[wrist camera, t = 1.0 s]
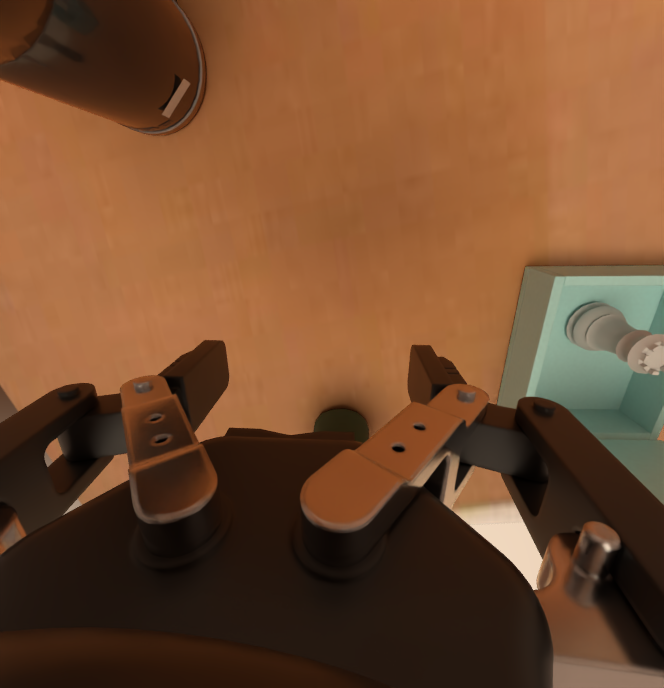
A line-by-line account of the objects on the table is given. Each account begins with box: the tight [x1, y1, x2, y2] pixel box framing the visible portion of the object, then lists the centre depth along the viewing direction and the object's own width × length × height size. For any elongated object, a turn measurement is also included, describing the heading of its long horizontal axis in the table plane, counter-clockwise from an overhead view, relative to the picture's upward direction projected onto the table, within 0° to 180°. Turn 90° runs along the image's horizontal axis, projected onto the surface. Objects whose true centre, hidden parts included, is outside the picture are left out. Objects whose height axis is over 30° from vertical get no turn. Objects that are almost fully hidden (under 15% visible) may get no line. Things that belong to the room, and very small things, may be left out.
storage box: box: [497, 265, 664, 440], centre depth 31 cm, size 16×13×5 cm
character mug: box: [314, 409, 369, 443], centre depth 32 cm, size 11×7×13 cm, turn 19°
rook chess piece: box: [566, 302, 664, 375], centre depth 27 cm, size 4×4×8 cm
